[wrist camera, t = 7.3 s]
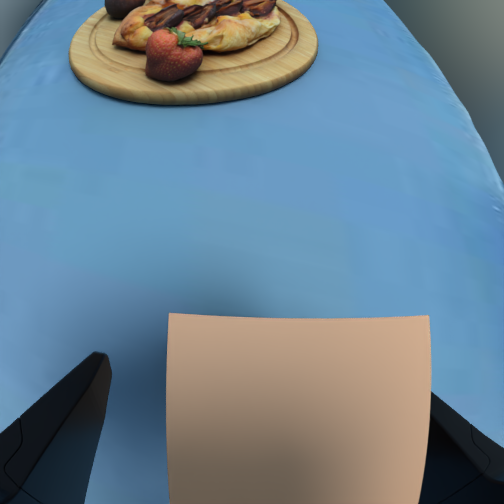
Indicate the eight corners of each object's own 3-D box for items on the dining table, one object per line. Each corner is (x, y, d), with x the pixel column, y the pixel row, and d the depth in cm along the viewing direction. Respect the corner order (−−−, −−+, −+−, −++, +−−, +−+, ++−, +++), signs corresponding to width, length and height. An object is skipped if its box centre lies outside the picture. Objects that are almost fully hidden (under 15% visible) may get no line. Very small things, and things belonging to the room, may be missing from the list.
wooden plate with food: (284, 152, 26) (313, 85, 18) (23, 91, 24) (2, 42, 17) (326, 20, 37) (342, -18, 30) (151, -15, 36) (151, -51, 28)
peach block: (276, 427, 15) (413, 524, 4) (187, 427, 15) (176, 565, 3) (277, 344, 17) (428, 315, 5) (189, 341, 16) (168, 312, 5)
